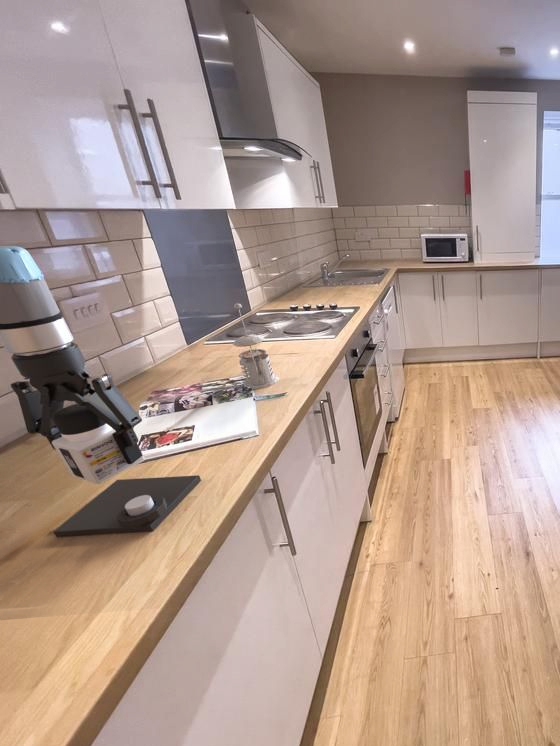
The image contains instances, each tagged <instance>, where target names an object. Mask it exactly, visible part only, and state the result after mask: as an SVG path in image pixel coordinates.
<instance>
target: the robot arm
mask: <svg viewBox="0 0 560 746" xmlns="http://www.w3.org/2000/svg"><path fill="white" fill-rule="evenodd" d="M44 277H45V276H44V273H43V271H41V270H40V268H39V266H38V265H37V263H36V262H35V260H34V258H33V257H32V255H31V254H30V252H29V251H28V250H27V249H25V248H24V247H21V246H17V245H0V343H1V344H2V346H3V348H4V350H5V352H6V353H9V354H11V357H10V359H11V360H12V362H13V364H14V366H15V367H16V369H17V371H18V372H19V374H20V376H22V377H23V378H22V379H19V380H17V381H15V382H12V383H10V387H11V389H12V391H14V393H15V395H16V396H17V399H18V403H19V406H20V409H21V413H22V416H23V420H24V424H25V428H26V431H27V433H28V434H31V435H34V434H40V435H41V436H42V437H45V438H46V439H47V441H48V442H49V444H50V446H51V448H52V449H53V450H54V451H56V449H55V448H54V446H53V444H52V441H53V440H56V439H58V438H61V437H62V435H61V433H60V432H59V430H58V428H57V426H56V425H55V423H54V421H53V420H52V418H53V416H54V414H55V413H57V412H58V411H60V410H61V409H63V408H64V407H65V406H64V405H65V401H66V402H74V403H75V404H78V405H81V406H85V407H86V408H88V409H89V410H90V411H91V412H93V413H94V414H95V415H96V416H98V417H99V418H100V419H101V420H103V421H104V422H105V423H106V424H108V425H109V426H110V427H111V428H113V429H114V430H115V431H116V432H114V433H113V434H112V435H113V437H114V439H115V441H116V443H117V445H118V447H119V448H120V450H121V452H122V454H123V456H124V458H125V460H126V462H127V464H133V463H134V462H135V461H136V460H138V459H139V458H140V457H141V456H144V455H143V453H142V450H141V448H140V446H139V445H138V443H139V438H138V436H137V434H136V432H135V430H134V427H136V426H137V425H138V424H140V423H141V422H143V419H142V417H141V416H140V415H139V413H138V412H137V411H136V410H135V408H134V407H133V406H132V405H131V404H130V402H129V401H128V400H127V399H126V398H125V396H124V395H123V393H121V391H120V390H119V389H118V387H116V386H115V383H114V380H113V377H112V376H111V374H109V373H104V374H102V375H91V374H90V373H89V372H87V370H86V368H85V365H86V359H85V357H84V355H83V352H82V351H81V349H80V347H79V345H78V344H77V343H75V342H73V341H74V340H75V338H74V336H73V333H72V332H71V330H70V328H69V326H68V324H67V322H66V320H65V318H64V316H63V314H62V312H61V311H60V309H59V306H58V304H57V302H56V300H55V298H54V296H53V294H52V291H51V290H50V288H49V286H48V283H47V282H46V280H45V278H44ZM120 423H121V424H120Z"/></svg>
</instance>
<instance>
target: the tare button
mask: <svg viewBox="0 0 560 746" xmlns="http://www.w3.org/2000/svg"><path fill="white" fill-rule="evenodd" d="M153 507H154V502H153V500H152V498H151V497H150V496H149V495H143V496H139V497H136V498H134V499H132V500H130V501H129V502H127V503H126V505H125V509H126V510H127V512H128V514H129V515H130V516H137V515H140V514H144V513H145V512H147V511H149V510H151V509H152V508H153Z"/></svg>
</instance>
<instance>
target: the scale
mask: <svg viewBox="0 0 560 746" xmlns="http://www.w3.org/2000/svg"><path fill="white" fill-rule="evenodd" d="M201 481H202V479H201V476H200V475H197V474H196V475H180V476H161V477H160V476H159V477H144V478H125V479H124V478H123V479H116V480H115V481H114V482H112V483H111V484H110V485H109V486H108V487H106V488H105V489H104V490H102V491H101V492H100V493H99V494H97V496H95V497H94V498H93V499H91V501H89V502H88V503H87V504H86V505H84V506H83V507H82V508H80V509H79V510H78V511H77V512H75V513H74V514H73V515H72V516H70V517H69V518H68V519H66V521H64V522H63V523H62V524H61V525H59V526H58V527H57V528H56V529H55V530H53V531H52V533H53V534H54V536H55V537H56V538H70V537H85V536H87V537H88V536H102V535H103V536H104V535H119V534H133V533H134V534H135V533H150V532H154V531H155V530H156V529H158V527H159V526H160V525H161V524H162V523H163V522H164V521H165V519H166V518H167V517H168V516H169V515H170V514H171V513H172V512H173V511H174V510H175V509H176V508H177V507H178V506H179V505H180V504H181V503H182V501H184V499H185V498H186V497H188V495H189V494H190V493H192V491H193V490H194V489H195V488H196V487H197V486H198V485H199V484H200V482H201ZM143 495H149V496H150V497H151V498H152V500H153V502H154V507H153V508H152V509H151V510H149V511H147V512H145V513H144V514H140V515H137V516H130V515H129V514H128V512H127V510H126V509H125V505H126V503H127V502H129V501H130V500H132V499H134V498H136V497H139V496H143Z"/></svg>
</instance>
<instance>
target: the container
mask: <svg viewBox="0 0 560 746" xmlns="http://www.w3.org/2000/svg"><path fill="white" fill-rule="evenodd" d="M52 420H53V421H54V423H55V425H56V426H57V428H58V430H59V432H60V433H61V435H62V437H61V438H58V439H56V440H53V441H52V444H53V446H54V448H55V449H56V450H55V451H56V453H57V454H58V456H59V458H60V460H61V461H62V463H63V464H64V466H65V468H66V469H67V471H68V473H69V475H70V476H71V477H73V478H76V479H80V480H82V481H86V482H89V483H93V484H95V485H101V484H103V483H105V482H106V481H108V480H111V479H113V478H115V477H116V476H119V475H120V474H122V473H124V472H126V471H127V470H129V469H131V468H133V467H135V466H137V465H139V464H141V463H142V462H144V461H145V456H144V455H143V456H141V457H140V458H139V459H138V460H136V461H135V462H134V463H133V464H127V462H126V460H125V458H124V456H123V454H122V452H121V450H120V448H119V447H118V445H117V443H116V441H115V439H114V437H113V435H112V434H113V433H114V432H116V431H115V430H114V429H113V428H111V427H110V426H109V425H108V424H106V423H105V422H104V421H103V420H101V419H100V418H99V417H98V416H96V415H95V414H94V413H93V412H91V411H90V410H89V409H88V408H86V407H85V406H81V405H78V404H77V403H74V404H71V405H67V406H66V407H65V406H64V407H63V409H61V410H60V411H58V412H57V413H55V414H54V416H53V418H52Z"/></svg>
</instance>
